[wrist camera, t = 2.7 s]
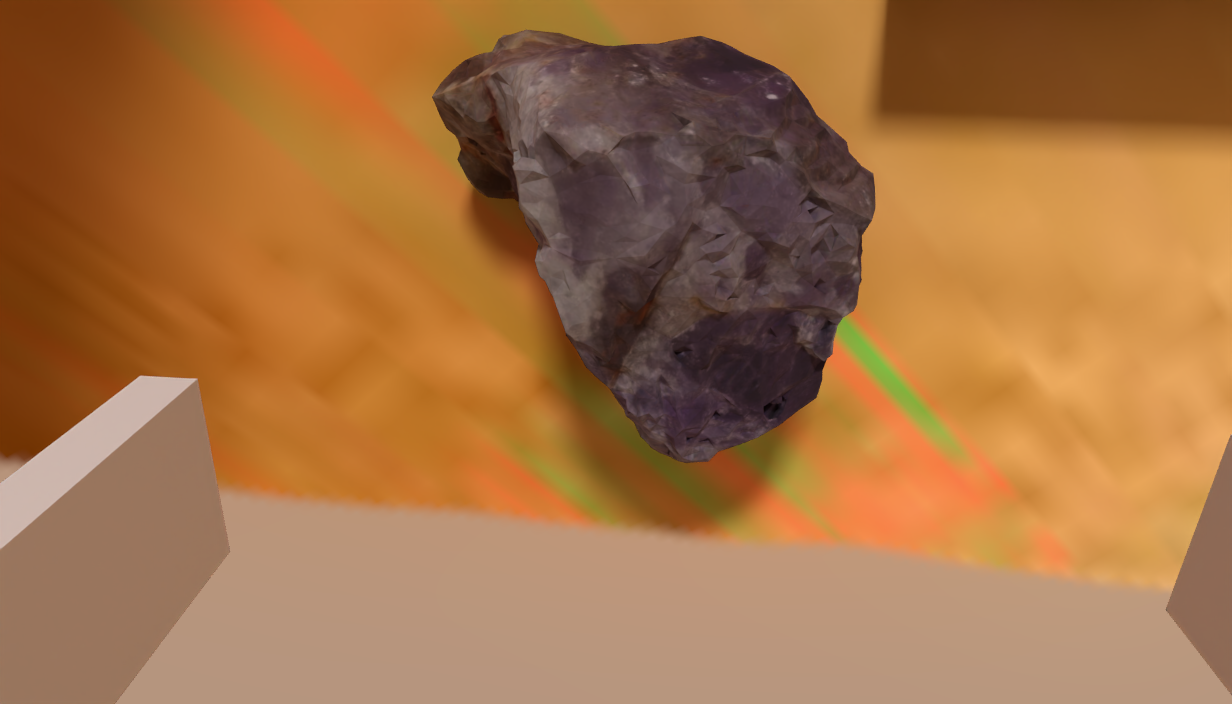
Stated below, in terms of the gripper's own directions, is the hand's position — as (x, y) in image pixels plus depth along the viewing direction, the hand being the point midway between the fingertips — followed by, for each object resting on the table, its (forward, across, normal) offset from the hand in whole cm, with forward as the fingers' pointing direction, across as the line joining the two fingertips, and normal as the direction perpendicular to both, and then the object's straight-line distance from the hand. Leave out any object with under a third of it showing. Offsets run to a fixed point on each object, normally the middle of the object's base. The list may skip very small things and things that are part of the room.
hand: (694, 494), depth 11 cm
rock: (+17, 0, 0) cm, 17 cm away
